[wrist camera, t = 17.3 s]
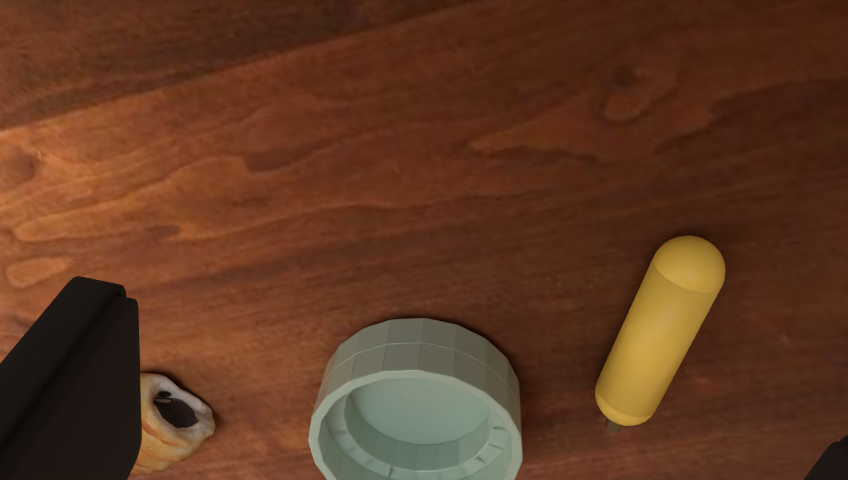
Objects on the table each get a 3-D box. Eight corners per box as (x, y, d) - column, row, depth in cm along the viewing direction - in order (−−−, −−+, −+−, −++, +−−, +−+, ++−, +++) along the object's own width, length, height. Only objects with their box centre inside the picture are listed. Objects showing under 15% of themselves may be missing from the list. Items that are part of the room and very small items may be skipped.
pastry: (142, 468, 52) (119, 514, 49) (65, 413, 50) (35, 457, 46) (228, 414, 48) (208, 459, 45) (148, 352, 46) (122, 395, 43)
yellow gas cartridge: (672, 253, 35) (745, 270, 35) (661, 215, 38) (728, 231, 38) (583, 442, 42) (643, 456, 42) (580, 398, 45) (636, 411, 45)
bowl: (339, 293, 42) (321, 350, 38) (543, 335, 42) (548, 396, 38) (315, 434, 49) (298, 496, 44) (492, 469, 49) (492, 534, 45)
